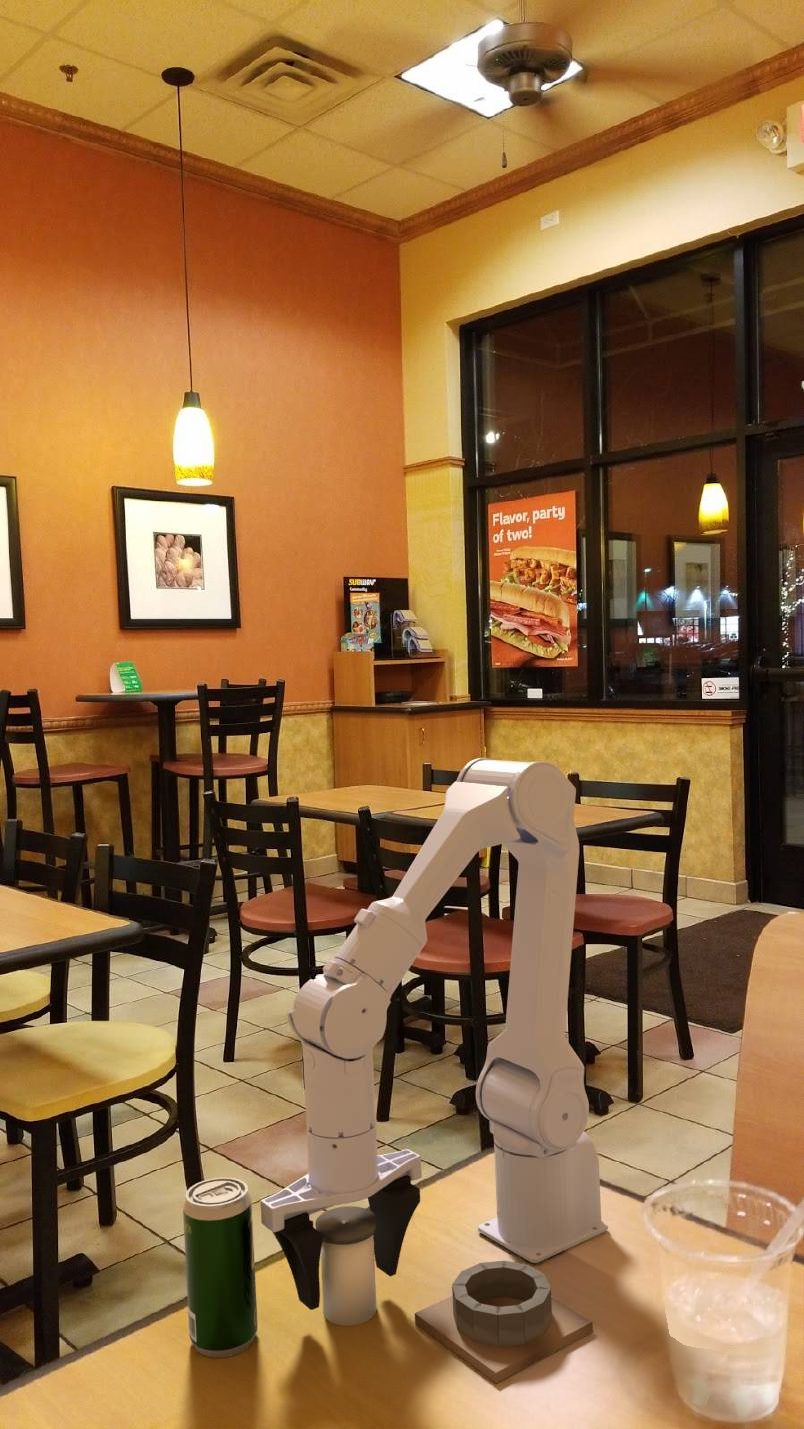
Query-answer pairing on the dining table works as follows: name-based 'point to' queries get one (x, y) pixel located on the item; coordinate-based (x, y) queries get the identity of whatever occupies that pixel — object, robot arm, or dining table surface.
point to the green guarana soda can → (220, 1267)
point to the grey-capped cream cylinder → (348, 1264)
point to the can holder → (502, 1318)
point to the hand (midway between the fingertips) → (348, 1286)
